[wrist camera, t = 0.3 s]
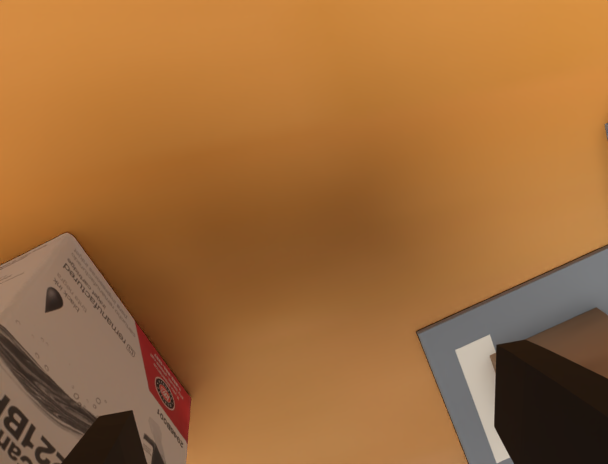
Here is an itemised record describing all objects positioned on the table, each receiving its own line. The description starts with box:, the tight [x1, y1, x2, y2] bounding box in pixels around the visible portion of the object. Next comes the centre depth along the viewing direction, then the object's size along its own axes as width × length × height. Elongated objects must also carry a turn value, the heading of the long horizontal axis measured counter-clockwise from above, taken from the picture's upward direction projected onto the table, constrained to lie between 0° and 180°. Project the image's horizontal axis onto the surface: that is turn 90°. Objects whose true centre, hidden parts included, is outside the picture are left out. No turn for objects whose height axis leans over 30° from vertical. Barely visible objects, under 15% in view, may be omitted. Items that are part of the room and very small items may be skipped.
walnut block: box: [490, 307, 608, 378], centre depth 20 cm, size 5×5×5 cm
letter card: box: [417, 245, 608, 464], centre depth 23 cm, size 10×10×1 cm
